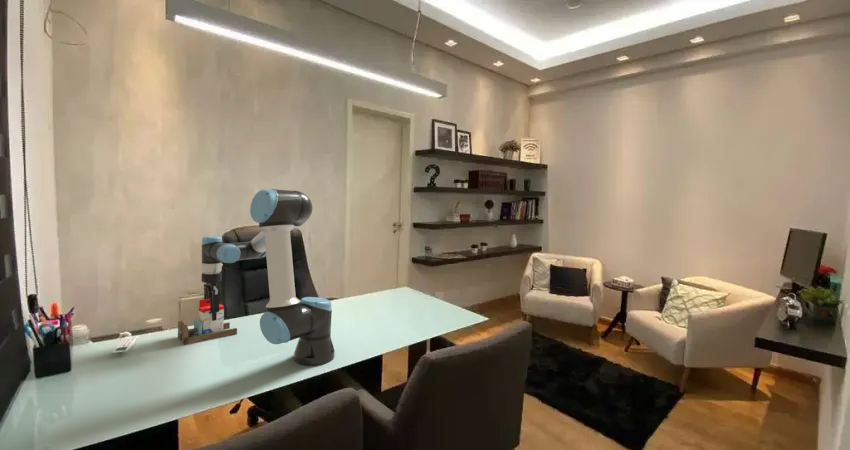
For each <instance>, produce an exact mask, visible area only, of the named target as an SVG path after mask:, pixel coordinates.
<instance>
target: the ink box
mask: <svg viewBox="0 0 850 450" xmlns="http://www.w3.org/2000/svg"><path fill="white" fill-rule="evenodd" d="M207 301H210V299H204V298H203V299H200V300H199V301H198V302H199V304H198V320H199V321H200V322H202V334H207V333H212V332H218V331H223V324H224V323H225V322H224V319H225V316H224V312H225V311H224V310H225V309H224V308H225V306H224V305H223V304H221V303H219V312H217V327H215V328H210V314H209V312H211V309H210V303H206V302H207Z"/></svg>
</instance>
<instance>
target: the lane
mask: <svg viewBox="0 0 850 450" xmlns="http://www.w3.org/2000/svg"><path fill="white" fill-rule="evenodd" d="M230 325H231V323H230V322H224V324H223V331H218V332H212V333H207V334H202V335H197V336H194V332H190V333H188V329H189V327H188V326H187V324H185V323H184V321H183V320H178V321H177V338H178V340H180V341H181V342H182V344H183V345H184V346H186V345H187V346H188V345H191V344H196V343H201V342H205V341H210V340H215V339H220V338H225V337H229V336H235V335H237V334H238V328H237V327H233V328H230ZM179 331H182V334H180V333H179Z"/></svg>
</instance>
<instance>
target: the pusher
mask: <svg viewBox="0 0 850 450" xmlns="http://www.w3.org/2000/svg"><path fill="white" fill-rule="evenodd" d="M190 332H194V335H193V336H197V335H202V322H200V321H199V318H194V319H193V328H188V333H190ZM179 333H180V334H182V331H179Z"/></svg>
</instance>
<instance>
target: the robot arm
mask: <svg viewBox="0 0 850 450" xmlns="http://www.w3.org/2000/svg"><path fill="white" fill-rule="evenodd" d="M249 209H250V210H249V211H250V212H249V213H250V217H251V218H252V220H253V222H255V223H256V224H258V229H259V230H261V231H260V232H259V233H258V234H256V235H255V236H254V237H253V238H252V239H251V240H250V241H243V242H229V243H226V242H223V238H222V237H221V236H220V235H219V236H218V235H206V236H203V237H202V239H201V245H200V246H201V266H200V267H201V270H200V271H201V280H200V281H201V282H202V283H204V284H203V300H204V299H210V301H207V302H206V303H210V309H211V312H209V314H210V328H215V327H217V312H219V304H220V292H221V290H220V288H219V286H218V283H219V282H221V281H222V280H223V279H222V274H223V273H222V267H223V265H224V264H223V263H225V264H233V263H236V262H238V261H243V260H253V259H262V258H265V257H266V267H267V280H268V290H269V291H268V292H269V301H268V303H267V304H266V305H265V311H266V312H263V313H262V314H261V316H260V318H259V327H260V331H261V334H262V335H263V337H264V338H265V340H266V341H267V342H268V343H270V344H272V345H281V344H283V343H284V344H286V343H288V342H290V341H294V340H296V339H298V341H297V344H296V347H295V350H294V352H293V360H294V361H295V362H296V363H297V364H300V365H303V366H319V365H325V364H326V363H329V362H331V361H332V360H334V358H335V353H336V351H335V347H334V343H333V341H332V336H331V335H332V334H331V333H332V330H331V329H332V314H333V313H332V312H333V310H332V302H331V300H329V299H327V298H323V297H319V296H318V297H317V296H305V297H302V298H301V299H299V298H298V297H297V296H296V295H297V294H296V287H295V285H296V284H295V275H294V263H293V251H292V242H291V241H292V240H291V239H292V238H291V231H292V230H294V229H295V228H296V227H301V226H303V225H304V224H305V223H306V222H307V221H309V219H310V217H311V215H312V213H313V203H312V201H311V198H309V196H308V195H307V194H306V193H304V192H302V191H300V190H288V189H287V190H286V189H275V188H270V189H269V188H268V189H261V190H259V191H257V192H256V193H255V194H254V196H253V198H252V200H251V203H250V207H249Z"/></svg>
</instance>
